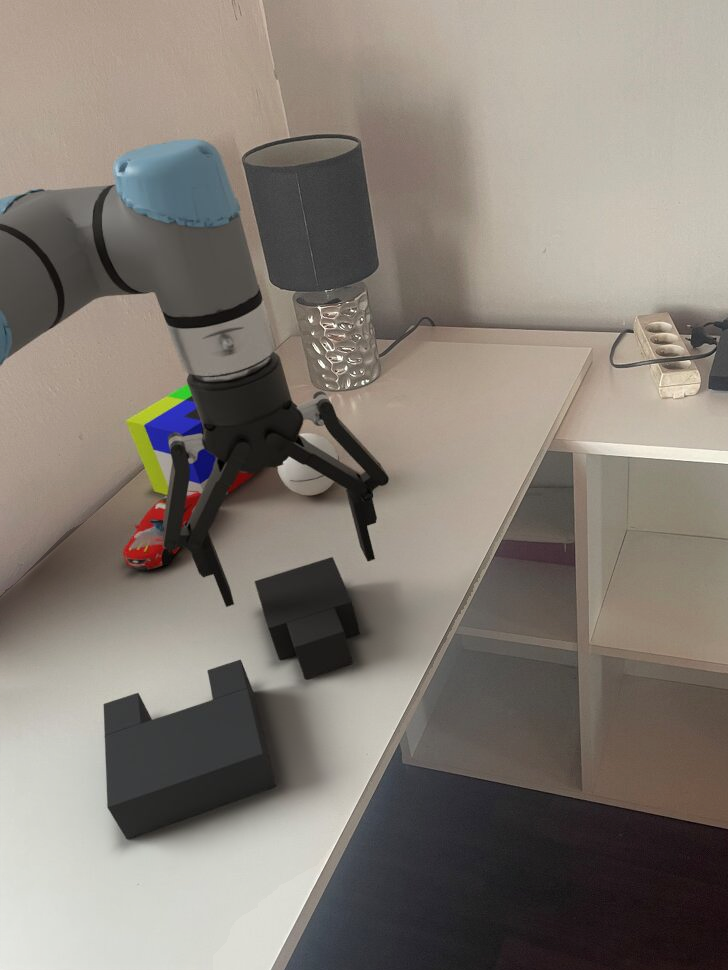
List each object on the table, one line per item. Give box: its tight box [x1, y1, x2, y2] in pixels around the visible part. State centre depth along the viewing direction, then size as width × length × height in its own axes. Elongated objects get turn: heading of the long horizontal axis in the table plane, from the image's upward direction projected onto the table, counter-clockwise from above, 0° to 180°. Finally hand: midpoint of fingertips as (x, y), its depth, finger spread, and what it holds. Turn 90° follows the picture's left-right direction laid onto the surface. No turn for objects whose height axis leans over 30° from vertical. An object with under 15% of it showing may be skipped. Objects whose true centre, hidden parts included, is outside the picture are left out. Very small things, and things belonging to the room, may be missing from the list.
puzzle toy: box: [125, 384, 256, 496], centre depth 108 cm, size 10×10×10 cm
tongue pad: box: [254, 556, 361, 680], centre depth 82 cm, size 12×8×4 cm
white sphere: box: [277, 432, 351, 496], centre depth 102 cm, size 10×7×7 cm
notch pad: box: [103, 659, 277, 840], centre depth 72 cm, size 12×12×4 cm
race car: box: [122, 491, 201, 571], centre depth 99 cm, size 13×5×4 cm, turn 162°
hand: (299, 575), depth 81 cm, fingers open, 13 cm apart
